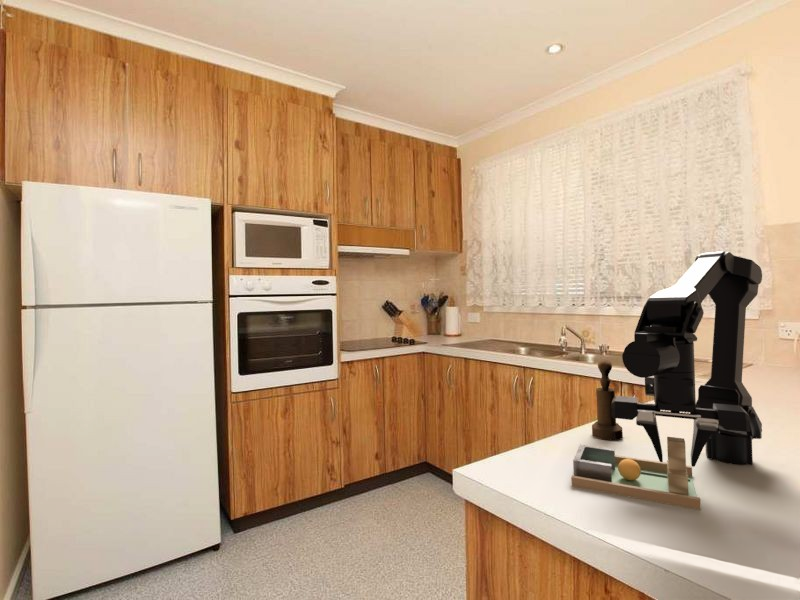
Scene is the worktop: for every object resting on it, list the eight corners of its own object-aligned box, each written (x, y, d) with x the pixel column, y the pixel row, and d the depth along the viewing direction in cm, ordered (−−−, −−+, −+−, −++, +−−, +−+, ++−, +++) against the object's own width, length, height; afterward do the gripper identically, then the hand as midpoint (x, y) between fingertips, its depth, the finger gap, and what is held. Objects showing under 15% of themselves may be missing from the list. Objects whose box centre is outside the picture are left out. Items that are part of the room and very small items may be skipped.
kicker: (685, 480, 71) (683, 435, 71) (688, 495, 66) (686, 446, 66) (667, 477, 73) (666, 433, 73) (669, 491, 68) (667, 444, 68)
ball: (641, 477, 74) (640, 457, 74) (641, 485, 71) (640, 464, 71) (618, 473, 75) (618, 454, 75) (617, 481, 72) (617, 461, 72)
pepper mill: (586, 432, 102) (584, 358, 102) (611, 431, 102) (609, 357, 102) (602, 441, 95) (599, 362, 95) (629, 439, 96) (626, 361, 96)
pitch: (691, 480, 74) (691, 466, 74) (700, 516, 62) (700, 499, 62) (582, 462, 83) (582, 450, 83) (571, 491, 71) (571, 477, 71)
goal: (615, 467, 78) (614, 449, 78) (611, 486, 70) (611, 466, 70) (580, 462, 81) (580, 444, 81) (573, 480, 73) (573, 460, 73)
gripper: (735, 365, 72) (738, 456, 72) (614, 360, 81) (616, 440, 81) (749, 377, 62) (753, 481, 62) (609, 369, 72) (612, 460, 72)
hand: (676, 463), depth 69 cm, fingers open, 4 cm apart
